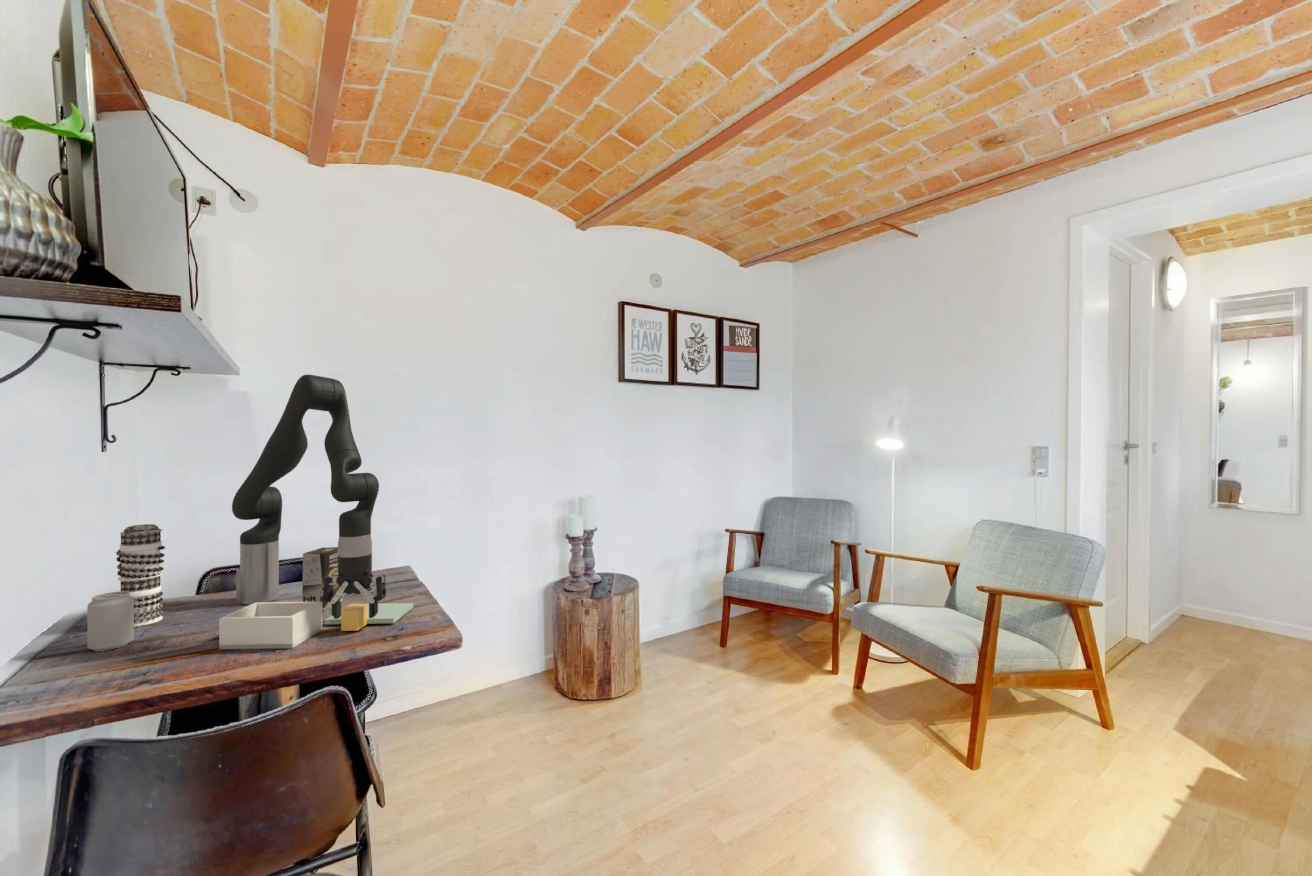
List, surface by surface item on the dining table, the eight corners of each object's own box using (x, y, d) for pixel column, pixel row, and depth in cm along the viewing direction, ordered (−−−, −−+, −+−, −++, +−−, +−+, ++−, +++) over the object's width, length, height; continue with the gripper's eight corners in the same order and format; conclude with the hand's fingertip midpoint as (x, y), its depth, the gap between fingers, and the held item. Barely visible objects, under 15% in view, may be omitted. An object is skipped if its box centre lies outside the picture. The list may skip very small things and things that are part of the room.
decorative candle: (141, 615, 146) (141, 522, 146) (174, 616, 145) (174, 523, 145) (105, 627, 136) (105, 528, 136) (140, 628, 136) (140, 528, 136)
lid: (313, 634, 133) (313, 610, 133) (350, 611, 151) (350, 590, 151) (384, 633, 134) (385, 609, 134) (413, 610, 152) (413, 589, 152)
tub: (219, 649, 123) (219, 618, 123) (255, 630, 135) (255, 602, 135) (292, 648, 124) (292, 617, 124) (322, 629, 136) (322, 601, 136)
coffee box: (324, 611, 149) (324, 553, 149) (301, 611, 149) (301, 553, 149) (343, 601, 159) (344, 546, 159) (322, 601, 159) (322, 546, 159)
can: (104, 654, 120) (104, 600, 120) (78, 651, 121) (78, 598, 121) (142, 641, 127) (142, 590, 127) (117, 639, 129) (117, 588, 129)
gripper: (390, 549, 140) (390, 612, 140) (333, 550, 139) (333, 613, 139) (377, 555, 133) (377, 622, 133) (317, 556, 132) (317, 623, 132)
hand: (354, 617), depth 136 cm, fingers open, 8 cm apart
